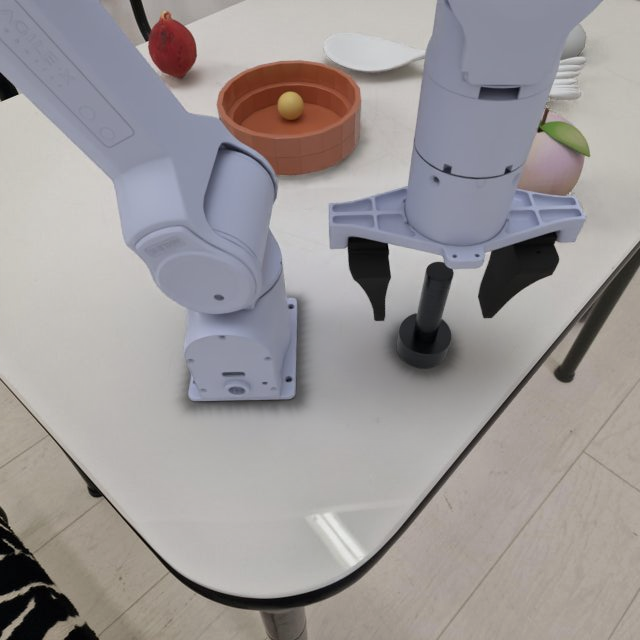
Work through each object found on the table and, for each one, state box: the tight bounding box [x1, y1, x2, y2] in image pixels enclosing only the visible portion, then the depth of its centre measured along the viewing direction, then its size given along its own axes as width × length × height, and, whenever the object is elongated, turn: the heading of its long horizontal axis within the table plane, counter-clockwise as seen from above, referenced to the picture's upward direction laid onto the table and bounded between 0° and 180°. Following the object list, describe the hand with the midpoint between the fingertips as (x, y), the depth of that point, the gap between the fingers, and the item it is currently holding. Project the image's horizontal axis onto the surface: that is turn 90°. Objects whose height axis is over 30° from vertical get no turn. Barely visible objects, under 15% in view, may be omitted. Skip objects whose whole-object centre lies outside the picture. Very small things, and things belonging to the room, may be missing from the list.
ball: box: [278, 92, 304, 120], centre depth 59 cm, size 3×3×3 cm
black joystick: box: [396, 261, 455, 370], centre depth 37 cm, size 4×4×9 cm
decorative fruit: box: [517, 107, 591, 196], centre depth 47 cm, size 9×8×10 cm
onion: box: [147, 9, 198, 80], centre depth 64 cm, size 6×6×8 cm
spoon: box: [322, 31, 588, 101], centre depth 64 cm, size 9×32×4 cm, turn 69°
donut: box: [560, 23, 587, 61], centre depth 67 cm, size 10×4×10 cm
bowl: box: [216, 59, 362, 177], centre depth 56 cm, size 15×15×5 cm
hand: (431, 308), depth 37 cm, fingers open, 7 cm apart
